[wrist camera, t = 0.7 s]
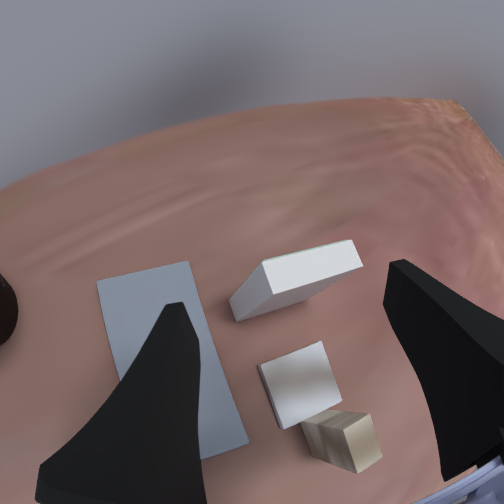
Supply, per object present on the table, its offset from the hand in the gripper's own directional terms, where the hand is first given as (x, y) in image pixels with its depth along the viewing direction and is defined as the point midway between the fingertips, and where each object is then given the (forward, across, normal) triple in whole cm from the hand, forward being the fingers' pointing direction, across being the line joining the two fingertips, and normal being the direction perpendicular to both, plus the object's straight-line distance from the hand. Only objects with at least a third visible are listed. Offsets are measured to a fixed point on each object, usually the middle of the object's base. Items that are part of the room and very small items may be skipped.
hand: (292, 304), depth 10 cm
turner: (+5, -1, +17) cm, 18 cm away
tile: (+12, 0, +11) cm, 17 cm away
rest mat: (+6, +9, +11) cm, 16 cm away
